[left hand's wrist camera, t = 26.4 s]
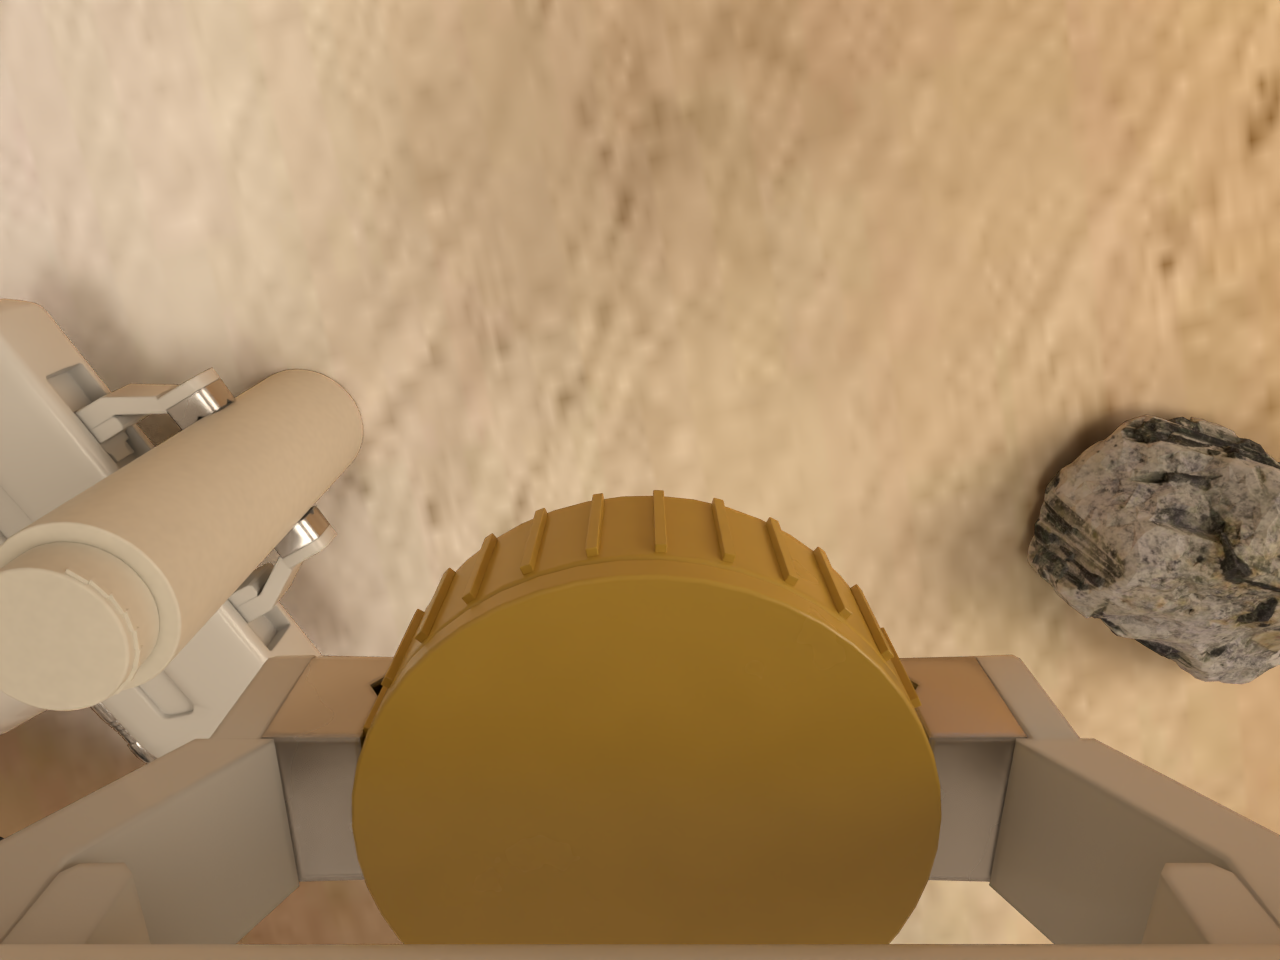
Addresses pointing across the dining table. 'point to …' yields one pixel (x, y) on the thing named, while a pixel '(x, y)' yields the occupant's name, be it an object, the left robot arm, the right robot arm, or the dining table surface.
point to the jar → (165, 541)
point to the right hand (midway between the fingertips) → (271, 456)
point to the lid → (646, 743)
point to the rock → (1171, 544)
